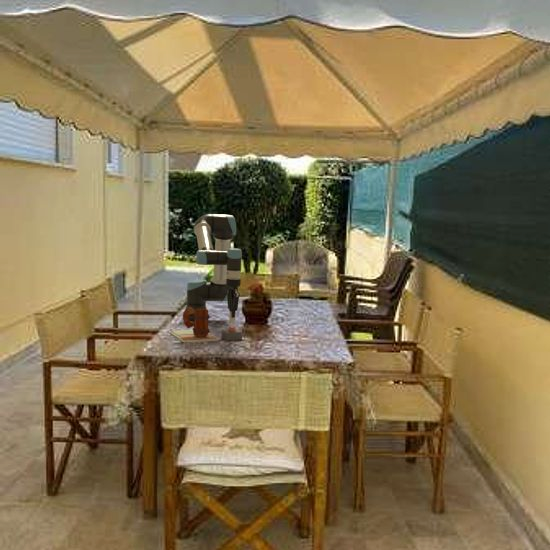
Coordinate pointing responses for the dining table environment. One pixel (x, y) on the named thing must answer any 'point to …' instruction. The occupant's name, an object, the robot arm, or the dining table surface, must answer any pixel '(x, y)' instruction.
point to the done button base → (232, 335)
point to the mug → (197, 321)
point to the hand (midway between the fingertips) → (232, 323)
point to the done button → (231, 329)
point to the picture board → (191, 336)
